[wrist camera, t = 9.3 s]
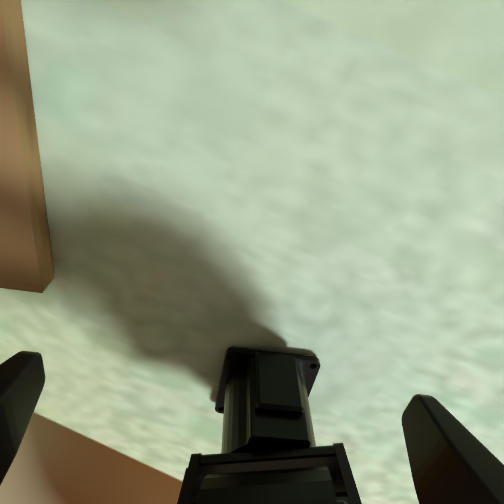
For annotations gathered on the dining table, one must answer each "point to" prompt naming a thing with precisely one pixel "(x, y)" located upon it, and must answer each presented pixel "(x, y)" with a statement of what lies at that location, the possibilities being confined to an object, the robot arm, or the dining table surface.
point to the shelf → (20, 166)
